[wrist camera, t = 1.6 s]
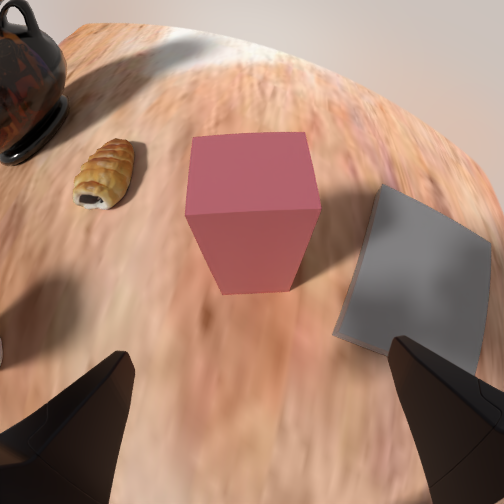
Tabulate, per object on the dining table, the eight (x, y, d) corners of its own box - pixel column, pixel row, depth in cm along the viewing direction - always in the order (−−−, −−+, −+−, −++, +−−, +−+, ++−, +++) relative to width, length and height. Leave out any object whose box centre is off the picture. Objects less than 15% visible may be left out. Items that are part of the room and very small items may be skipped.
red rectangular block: (288, 291, 23) (321, 209, 11) (222, 294, 23) (184, 215, 11) (284, 241, 25) (304, 132, 13) (221, 244, 25) (192, 137, 13)
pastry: (104, 149, 31) (93, 129, 27) (149, 146, 30) (139, 124, 27) (75, 211, 27) (58, 193, 23) (122, 214, 27) (107, 194, 23)
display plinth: (460, 381, 19) (473, 380, 17) (331, 335, 21) (338, 332, 20) (481, 250, 24) (491, 243, 22) (375, 194, 27) (382, 183, 25)
